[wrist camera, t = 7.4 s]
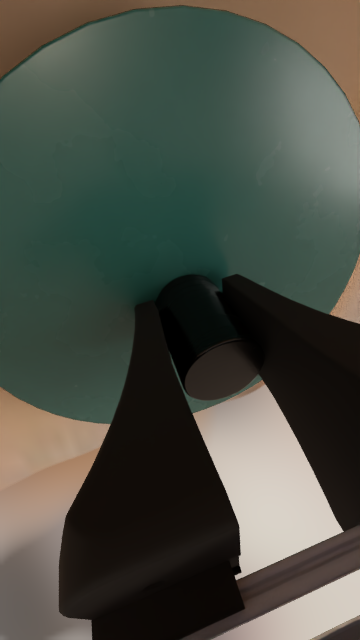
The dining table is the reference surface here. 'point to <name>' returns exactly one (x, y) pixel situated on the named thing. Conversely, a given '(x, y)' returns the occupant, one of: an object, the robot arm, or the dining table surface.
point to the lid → (165, 200)
